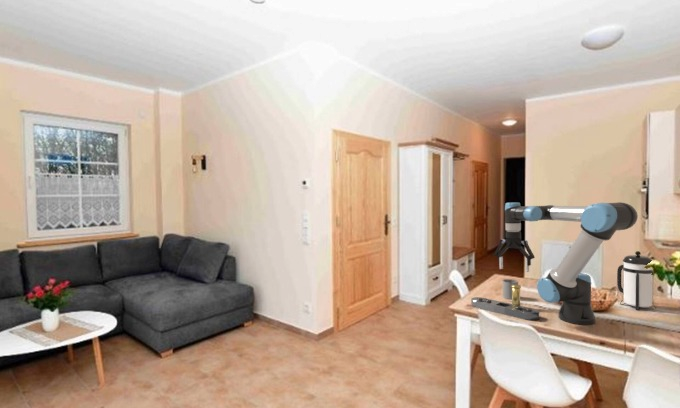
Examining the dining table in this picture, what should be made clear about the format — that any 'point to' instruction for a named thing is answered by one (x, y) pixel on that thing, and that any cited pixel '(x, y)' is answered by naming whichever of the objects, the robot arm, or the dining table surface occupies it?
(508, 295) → the cup
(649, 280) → the coffee press
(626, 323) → the dining table surface
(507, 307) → the long dark plank
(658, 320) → the dining table surface
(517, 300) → the pin
